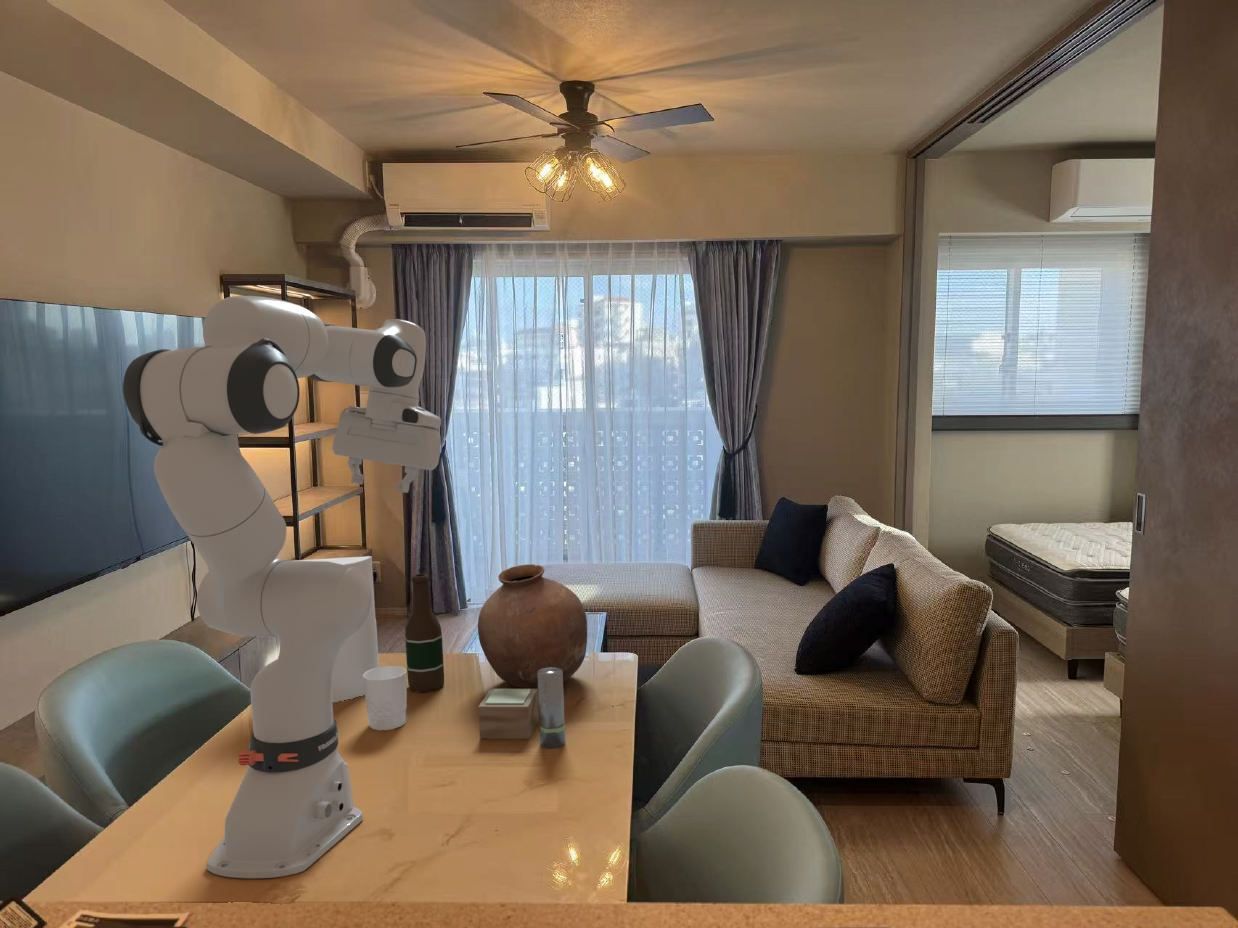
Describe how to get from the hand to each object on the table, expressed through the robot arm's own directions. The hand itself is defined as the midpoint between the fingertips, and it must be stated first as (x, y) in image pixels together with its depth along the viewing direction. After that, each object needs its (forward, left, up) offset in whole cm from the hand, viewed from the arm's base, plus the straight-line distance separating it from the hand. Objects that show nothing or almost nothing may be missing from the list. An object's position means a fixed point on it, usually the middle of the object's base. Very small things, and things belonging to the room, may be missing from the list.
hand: (379, 488), depth 156 cm
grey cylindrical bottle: (-4, -30, -46) cm, 55 cm away
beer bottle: (+24, +2, -46) cm, 52 cm away
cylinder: (+23, +21, -46) cm, 55 cm away
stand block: (+2, -21, -45) cm, 50 cm away
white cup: (+4, +3, -46) cm, 46 cm away
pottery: (+26, -21, -46) cm, 57 cm away
